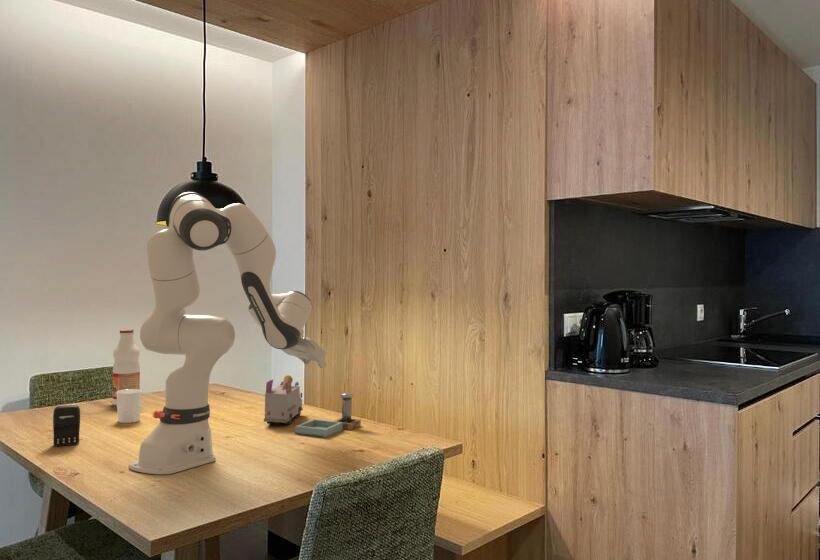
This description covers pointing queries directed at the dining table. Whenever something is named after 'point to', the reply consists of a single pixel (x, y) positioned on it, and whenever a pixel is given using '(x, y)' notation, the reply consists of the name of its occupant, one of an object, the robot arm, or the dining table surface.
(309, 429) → the tray
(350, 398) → the pin
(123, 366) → the fruit juice
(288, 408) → the toy vehicle
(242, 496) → the dining table surface
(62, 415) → the battery charger
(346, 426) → the collar
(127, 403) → the white cup
